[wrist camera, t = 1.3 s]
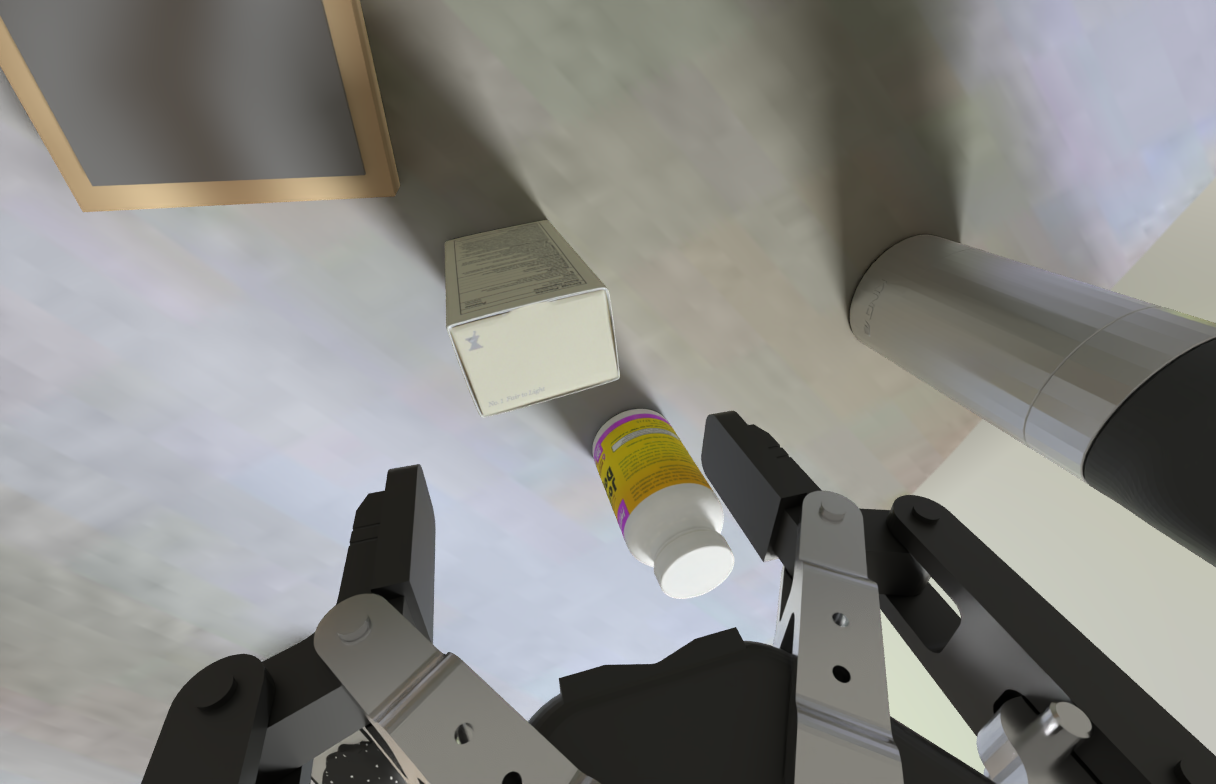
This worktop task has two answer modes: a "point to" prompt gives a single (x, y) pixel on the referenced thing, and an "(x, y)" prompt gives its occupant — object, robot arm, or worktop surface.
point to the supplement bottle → (662, 503)
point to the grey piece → (355, 763)
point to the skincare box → (526, 318)
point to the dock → (201, 99)
